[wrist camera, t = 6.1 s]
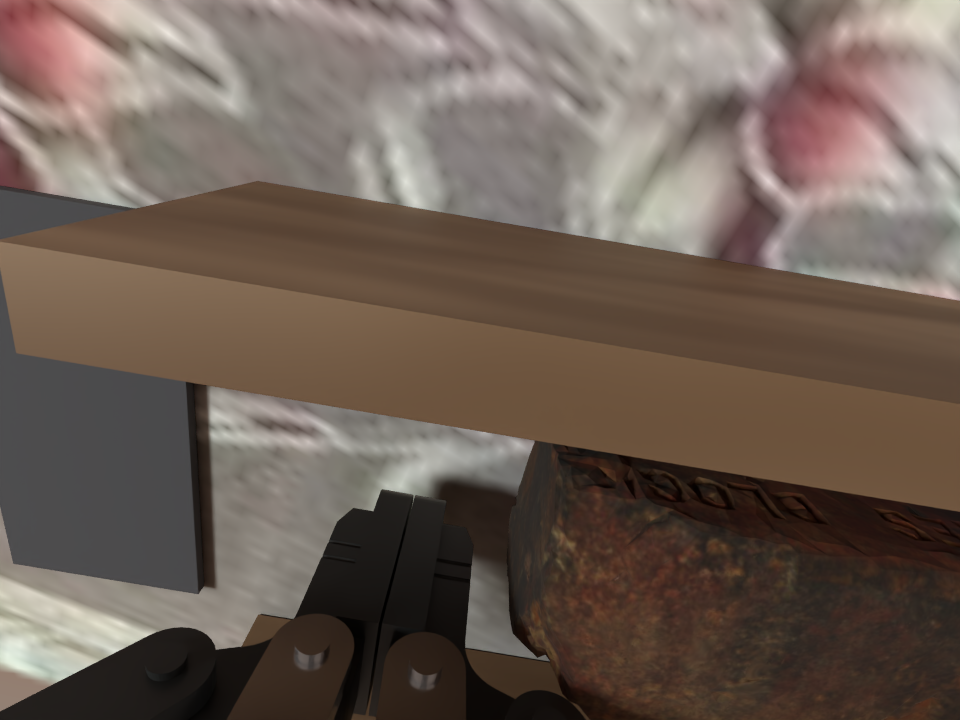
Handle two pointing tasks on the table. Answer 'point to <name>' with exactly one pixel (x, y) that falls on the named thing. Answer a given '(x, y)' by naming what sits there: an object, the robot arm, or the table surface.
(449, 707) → the robot arm
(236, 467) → the table surface
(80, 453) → the pad
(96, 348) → the trench
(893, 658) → the brick
